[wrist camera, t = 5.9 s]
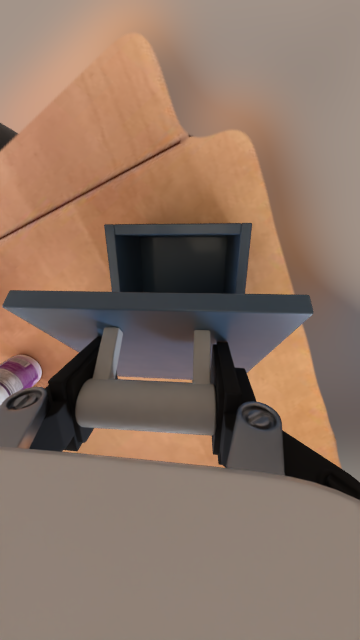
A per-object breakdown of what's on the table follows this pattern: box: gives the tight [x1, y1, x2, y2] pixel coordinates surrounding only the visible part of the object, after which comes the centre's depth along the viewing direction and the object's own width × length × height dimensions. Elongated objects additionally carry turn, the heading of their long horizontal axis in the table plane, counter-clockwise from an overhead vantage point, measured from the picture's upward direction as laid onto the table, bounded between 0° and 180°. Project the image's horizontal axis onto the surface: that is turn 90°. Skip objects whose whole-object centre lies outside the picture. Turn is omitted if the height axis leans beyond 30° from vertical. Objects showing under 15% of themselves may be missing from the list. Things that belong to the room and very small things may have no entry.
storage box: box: [104, 223, 252, 294], centre depth 23 cm, size 14×12×9 cm
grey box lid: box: [3, 290, 313, 436], centre depth 13 cm, size 14×12×5 cm
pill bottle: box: [0, 355, 42, 405], centre depth 29 cm, size 5×5×10 cm
